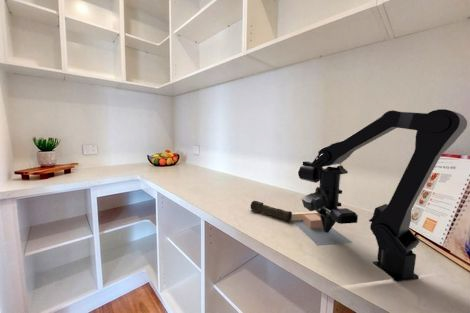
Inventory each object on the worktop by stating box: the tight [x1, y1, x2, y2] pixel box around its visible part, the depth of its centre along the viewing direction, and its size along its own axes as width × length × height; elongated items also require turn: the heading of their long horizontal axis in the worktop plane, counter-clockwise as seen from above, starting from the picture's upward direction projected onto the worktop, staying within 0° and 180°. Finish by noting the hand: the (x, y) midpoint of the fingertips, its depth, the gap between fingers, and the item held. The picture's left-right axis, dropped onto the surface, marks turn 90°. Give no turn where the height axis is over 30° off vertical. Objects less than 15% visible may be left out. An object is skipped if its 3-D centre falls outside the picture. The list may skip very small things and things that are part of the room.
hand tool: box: [250, 200, 293, 223], centre depth 80 cm, size 19×4×5 cm, turn 47°
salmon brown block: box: [303, 214, 323, 229], centre depth 71 cm, size 5×5×3 cm
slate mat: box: [290, 210, 353, 247], centre depth 68 cm, size 18×12×3 cm, turn 10°
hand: (326, 232), depth 63 cm, fingers closed
